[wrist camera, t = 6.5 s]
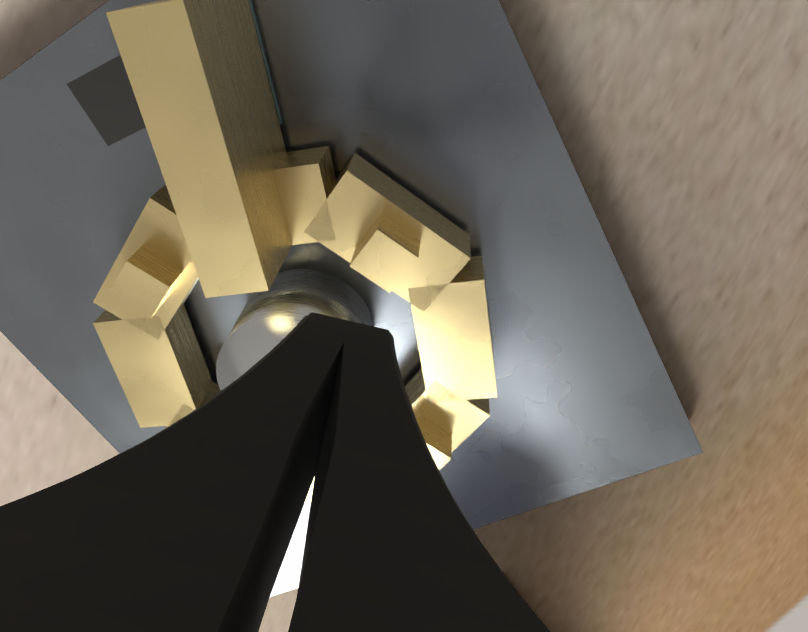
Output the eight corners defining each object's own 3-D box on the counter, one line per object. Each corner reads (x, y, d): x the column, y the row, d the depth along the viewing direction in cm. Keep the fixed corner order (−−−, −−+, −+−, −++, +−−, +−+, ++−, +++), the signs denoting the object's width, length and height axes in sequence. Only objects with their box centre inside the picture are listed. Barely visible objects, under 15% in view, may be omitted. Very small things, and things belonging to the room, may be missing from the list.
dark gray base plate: (691, 428, 23) (733, 517, 19) (269, 575, 28) (243, 664, 25) (405, -205, 15) (389, -246, 11) (-112, 171, 20) (-230, 222, 17)
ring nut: (505, 456, 22) (513, 553, 19) (193, 479, 24) (148, 573, 20) (447, -54, 15) (443, -49, 11) (1, 27, 16) (-121, 53, 13)
